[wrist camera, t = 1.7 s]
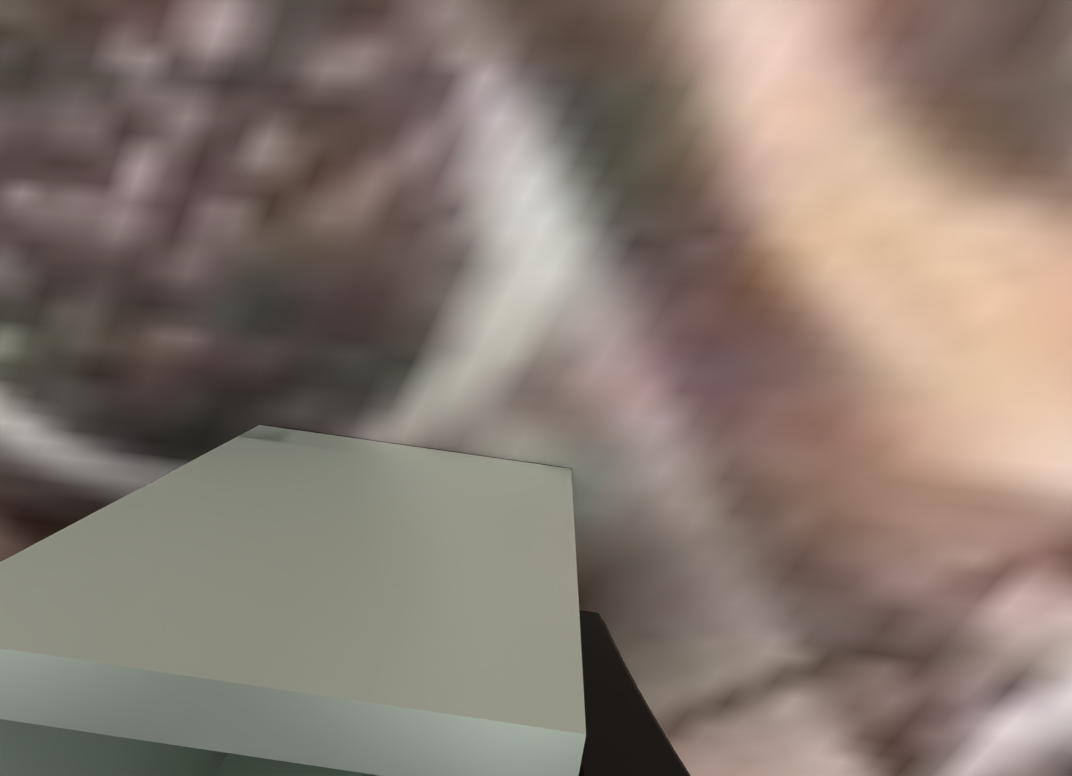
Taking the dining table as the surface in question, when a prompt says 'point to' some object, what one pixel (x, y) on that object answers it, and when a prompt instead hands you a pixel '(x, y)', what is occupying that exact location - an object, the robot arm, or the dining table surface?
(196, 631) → the small crate
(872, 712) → the dining table surface
